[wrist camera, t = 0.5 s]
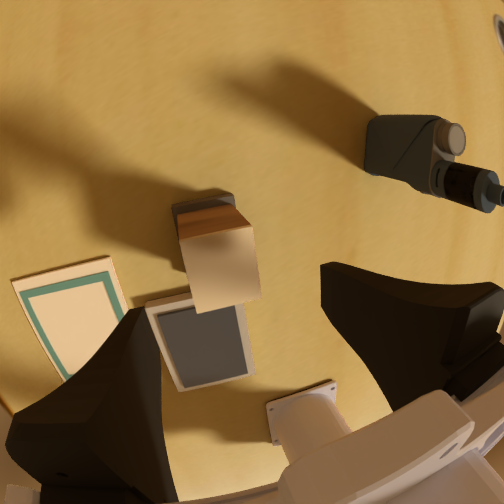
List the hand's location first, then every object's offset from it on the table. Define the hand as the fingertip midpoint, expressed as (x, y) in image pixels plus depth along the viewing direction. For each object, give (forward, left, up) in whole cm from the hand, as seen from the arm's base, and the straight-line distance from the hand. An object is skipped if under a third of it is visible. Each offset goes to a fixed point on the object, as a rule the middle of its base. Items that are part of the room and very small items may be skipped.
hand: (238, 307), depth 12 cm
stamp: (0, 0, -10) cm, 10 cm away
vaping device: (+4, -14, -10) cm, 18 cm away
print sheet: (-6, +11, -10) cm, 16 cm away
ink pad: (-9, +2, -10) cm, 13 cm away
